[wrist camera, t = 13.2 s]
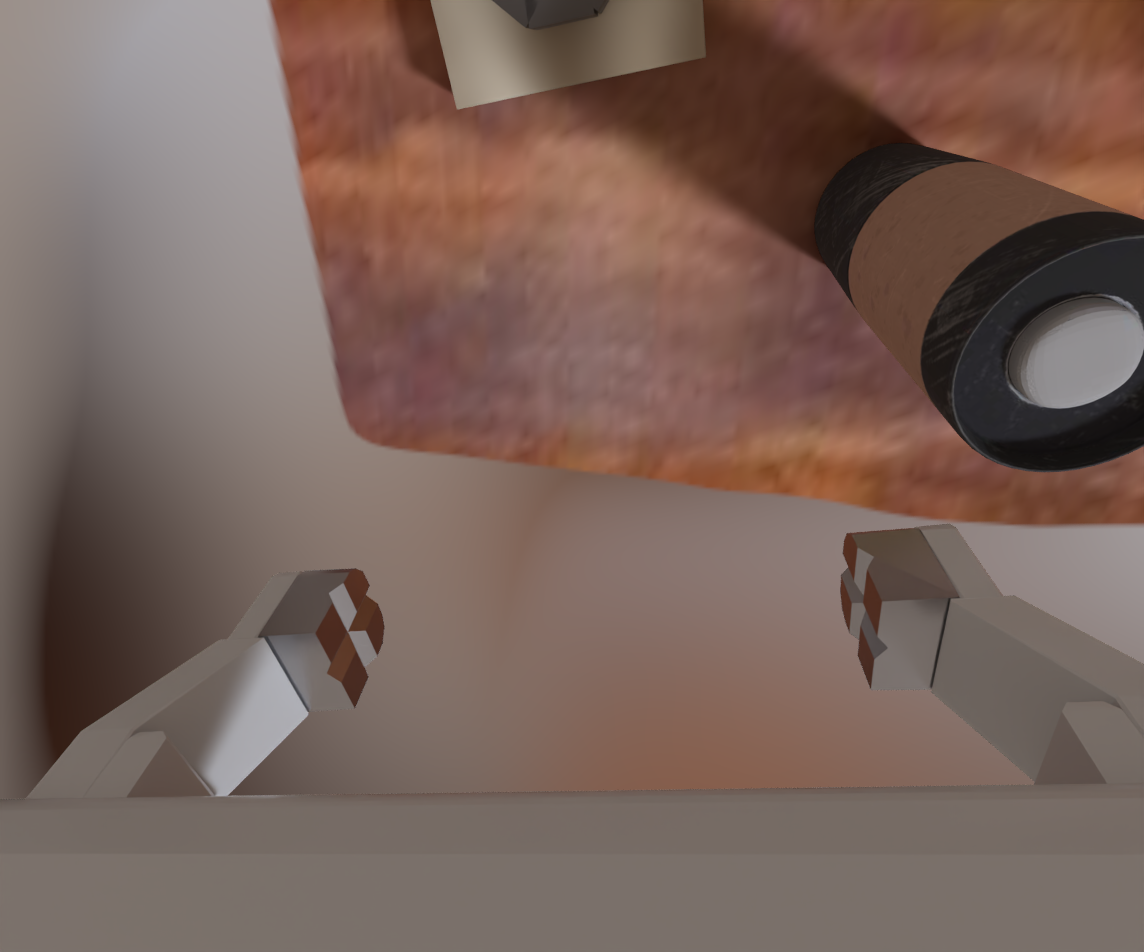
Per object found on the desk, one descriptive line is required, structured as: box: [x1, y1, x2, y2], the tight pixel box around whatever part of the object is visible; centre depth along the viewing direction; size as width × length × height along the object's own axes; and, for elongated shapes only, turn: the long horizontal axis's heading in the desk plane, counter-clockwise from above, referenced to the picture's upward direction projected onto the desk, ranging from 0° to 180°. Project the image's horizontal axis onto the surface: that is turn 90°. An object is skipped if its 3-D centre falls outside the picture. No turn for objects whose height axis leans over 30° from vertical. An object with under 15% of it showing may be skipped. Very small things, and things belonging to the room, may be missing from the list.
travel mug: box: [814, 143, 1144, 472], centre depth 27 cm, size 8×8×20 cm
